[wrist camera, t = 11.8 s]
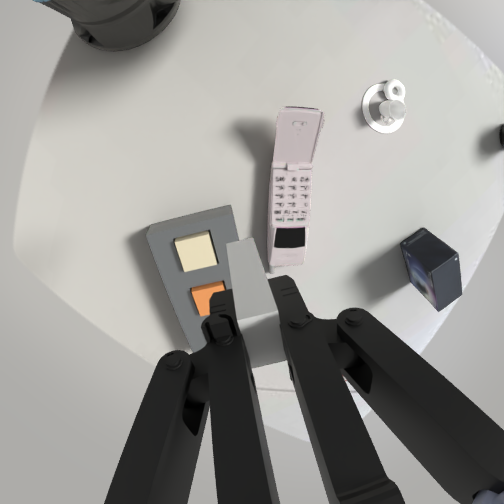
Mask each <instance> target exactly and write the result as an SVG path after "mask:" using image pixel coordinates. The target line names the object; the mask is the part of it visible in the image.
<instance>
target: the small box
mask: <svg viewBox="0 0 504 504" xmlns="http://www.w3.org/2000/svg"><path fill="white" fill-rule="evenodd" d="M400 245H401V248H402V252H403V255H404V259H405V263H406V266H407V270H408V274H409V278H410V282H411V283H412V284H413V285H414V286H415V287H416V288H417V289H418V290H419V291H420V293H421V294H422V295H423V296H424V297H425V298H426V299H427V300H428V301H429V302H430V303H431V304H432V305H433V307H434V308H435V309H436V310H437V311H438V312H439V311H441V310H442V309H444V308H445V307H446V306H448V305H449V304H450V303H452V302H453V301H454V300H456V299H457V298H458V297H460V296H461V295H462V284H461V273H460V263H459V254H458V253H457V252H456V251H455V250H454V249H452V248H451V247H450V246H448V245H447V244H446V243H444V242H443V241H441V240H440V239H439V238H437V237H436V236H435V235H433V234H432V233H431V232H430V231H428V230H427V229H426V228H422V229H421V230H420V231H418V232H417V233H415V234H414V235H412V236H411V237H409V238H407V239H406V240H404V241H403V242H402V243H400Z"/></svg>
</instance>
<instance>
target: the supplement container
mask: <svg viewBox="0 0 504 504" xmlns="http://www.w3.org/2000/svg"><path fill="white" fill-rule="evenodd" d="M500 141H501V144H502V146H503V147H504V125H503V126H502V128H501V130H500Z"/></svg>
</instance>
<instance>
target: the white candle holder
mask: <svg viewBox="0 0 504 504" xmlns="http://www.w3.org/2000/svg"><path fill="white" fill-rule="evenodd" d="M393 87H396V88H397V89H398V91H397V90H396V89H395V88H393ZM378 91H384V93H385V96H386V98H387V99H388V100H386V101H384V102H382V103H381V104H380V106H379V111H380V113H381V120H382V122H383V123H384V124H386V125H387V124H389V123H390V122H391V120H392V119H393V120H396V122H395V123H394V124H392V125H390V126H381V125H378V124H377V123H376V122H375V121H374V120H373V119H372V117H371V115H370V113H369V101H370V98H371V97H372V95H373V94H374V93H376V92H378ZM404 96H405V88H404V86H403V84H402V83H401V82H400V81H398V80H390V81H388V82H387V83H386V84H376V85H373V86H371V87H370V88H369V89H368V90H367V91H366V93H365V95H364V97H363V101H362V110H363V115H364V117H365V120H366V121H367V123H368V124H369V126H370V127H371V128H373V129H374V130H375V131H377V132H380V133H391V132H394V131H395V130H397V129H398V128H399V127H400V126H401V124H402V122H403V120H404V117H405V115H406V107H405V105H404V102H403V98H404ZM384 117H386V118H388V120H387V121H386V122H384Z"/></svg>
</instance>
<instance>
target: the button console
mask: <svg viewBox="0 0 504 504" xmlns="http://www.w3.org/2000/svg"><path fill="white" fill-rule="evenodd" d="M206 230H210V231H211V235H212V239H213V242H214V246H215V250H216V260H217V265H213V266H209V267H204V268H200V269H196V270H192V271H187V272H184V269H183V266H182V263H181V260H180V257H179V254H178V251H177V248H176V245H175V239H176V238H178V237H182V236H186V235H190V234H194V233H198V232H202V231H206ZM146 238H147V240H148V243H149V246H150V249H151V252H152V254H153V257H154V260H155V262H156V265H157V268H158V270H159V273H160V276H161V278H162V281H163V283H164V286H165V288H166V291H167V293H168V296H169V298H170V301H171V303H172V306H173V308H174V310H175V313H176V315H177V318H178V320H179V322H180V325H181V327H182V329H183V331H184V334H185V336H186V338H187V340H188V343H189V345H190V347H191V349H192V352H193V353H194V352H197V351H198V350H200V349H202V348H203V347H204V346H205V345H206V344H207V342H206V339H205V337H204V334H203V332H202V329H201V324H202V322H203V321H204V320H205V318H207V317H208V316H210V315H205V316H200V314H199V311H198V308H197V306H196V303H195V300H194V297H193V295H192V287H196V286H201V285H205V284H209V283H214V282H218V281H223V280H224V282H225V285H226V289H227V290H228V289H232V283H231V276H230V269H229V261H228V254H227V247H226V244H227V243H231V242H235V241H239V238H238V233H237V229H236V225H235V220H234V216H233V212H232V207H231V205H227V206H223V207H219V208H215V209H210V210H206V211H202V212H198V213H194V214H190V215H186V216H182V217H178V218H174V219H170V220H167V221H163V222H159V223H155V224H151V225H150V227H149V229H148V232H147V234H146Z"/></svg>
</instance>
